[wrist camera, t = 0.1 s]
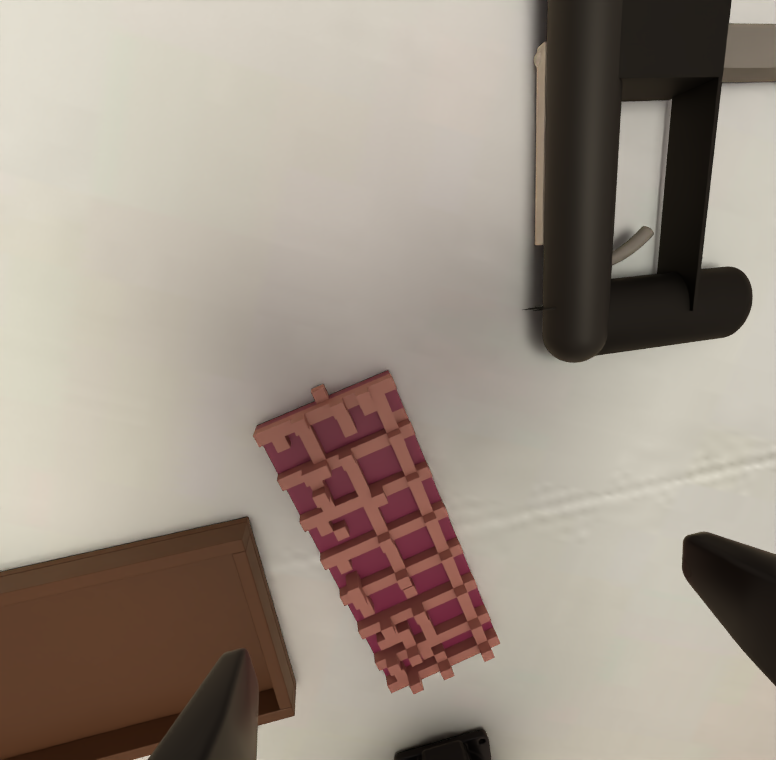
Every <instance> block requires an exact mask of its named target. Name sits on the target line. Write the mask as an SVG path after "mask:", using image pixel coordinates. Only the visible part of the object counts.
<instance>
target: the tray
mask: <svg viewBox="0 0 776 760" xmlns="http://www.w3.org/2000/svg"><path fill="white" fill-rule="evenodd" d="M240 648H245V649H247V651H248V652H249V655H250V658H251V661H252V665H253V668H254V671H255V674H256V677H257V680H258V687H259V704H258V725H262V724H266V723H269V722H273V721H277V720H280V719H284V718H288V717H292V716H294V715H295V697H296V681H295V678H294V674H293V671H292V667H291V664H290V660H289V657H288V654H287V650H286V647H285V643H284V640H283V636H282V633H281V629H280V626H279V622H278V619H277V615H276V612H275V608H274V605H273V602H272V598H271V595H270V591H269V588H268V584H267V581H266V577H265V574H264V570H263V567H262V563H261V560H260V556H259V553H258V550H257V546H256V543H255V539H254V536H253V532H252V529H251V525H250V522H249V518H248V517H245V518H241V519H236V520H232V521H227V522H223V523H218V524H214V525H209V526H205V527H200V528H196V529H191V530H187V531H183V532H178V533H174V534H169V535H165V536H160V537H156V538H151V539H147V540H142V541H138V542H133V543H129V544H124V545H120V546H115V547H111V548H106V549H102V550H97V551H93V552H88V553H84V554H79V555H75V556H70V557H66V558H61V559H57V560H52V561H48V562H43V563H39V564H34V565H30V566H25V567H21V568H16V569H12V570H7V571H3V572H0V760H133V759H137V758H141V757H144V756H148V755H151V754H152V753H153V751H154V750H155V749H156V747H157V746H158V744H159V743H160V742H161V740H162V739H163V737H164V736H165V735H166V733H167V732H168V730H169V729H170V727H171V726H172V725H173V723H174V722H175V720H176V719H177V718H178V716H179V715H180V713H181V712H182V710H183V709H184V708H185V706H186V705H187V703H188V702H189V701H190V699H191V698H192V696H193V695H194V693H195V692H196V691H197V689H198V688H199V686H200V685H201V684H202V682H203V681H204V679H205V678H206V676H207V675H208V674H209V672H210V671H211V669H212V668H213V667H214V665H215V664H216V662H217V661H218V659H219V658H220V657H221V656H222V655H223V654H224V653H225V652H228V651H232V650H236V649H240Z"/></svg>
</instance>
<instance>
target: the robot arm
mask: <svg viewBox="0 0 776 760" xmlns="http://www.w3.org/2000/svg"><path fill="white" fill-rule="evenodd" d="M682 570H683V574H684V576H685V578H686V580H687V581H688V583H689V584H690V585H691V586H692V588H693V589H694V590H695V591H696V593H697V594H698V595H699V596H700V598H701V599H702V600H703V601H704V603H705V604H706V605H707V606H708V608H709V609H710V610H711V611H712V613H713V614H714V615H715V616H716V618H717V619H718V620H719V621H720V623H721V624H722V625H723V626H724V628H725V629H726V630H727V631H728V633H729V634H730V635H731V636H732V638H733V639H734V640H735V641H736V643H737V644H738V645H739V646H740V647H741V649H742V650H743V651H744V652H745V653H746V654H747V656H748V657H749V658H750V659H751V660H752V661H753V662H754V663H755V664H756V666H757V667H758V668H759V669H760V670H761V671H762V672H763V673H764V674H765V675H766V676H767V677H768V678H769V679H770V681H771V682H772V683H773V684H774V685H775V686H776V554H773V553H770V552H767V551H764V550H761V549H758V548H755V547H752V546H749V545H746V544H742V543H739V542H736V541H733V540H730V539H727V538H724V537H721V536H718V535H715V534H712V533H709V532H699V533H695V534H691V535H687V536H686V537H685V538H684V540H683V554H682ZM258 704H259V687H258V680H257V677H256V674H255V671H254V668H253V665H252V661H251V658H250V655H249V652H248V651H247V649H245V648H240V649H236V650H232V651H228V652H225V653H224V654H223V655H222V656H221V657H220V658H219V659H218V661H217V662H216V664H215V665H214V667H213V668H212V669H211V671H210V672H209V674H208V675H207V676H206V678H205V679H204V681H203V682H202V684H201V685H200V686H199V688H198V689H197V691H196V692H195V693H194V695H193V696H192V698H191V699H190V701H189V702H188V703H187V705H186V706H185V708H184V709H183V710H182V712H181V713H180V715H179V716H178V718H177V719H176V720H175V722H174V723H173V725H172V726H171V727H170V729H169V730H168V732H167V733H166V735H165V736H164V737H163V739H162V740H161V742H160V743H159V744H158V746H157V747H156V749H155V750H154V751H153V753H152V754H151V756H150V757H149V759H148V760H256V757H257V730H258ZM394 760H491V753H490V745H489V739H488V736H487V733H486V731H484V730H478V731H474V732H471V733H467V734H464V735H460V736H457V737H453V738H450V739H446V740H443V741H439V742H436V743H433V744H429V745H426V746H422V747H419V748H415V749H412V750H408V751H405V752H401V753H399V754H397V755H396V756H395V758H394Z"/></svg>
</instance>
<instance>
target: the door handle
mask: <svg viewBox="0 0 776 760" xmlns="http://www.w3.org/2000/svg"><path fill="white" fill-rule="evenodd" d="M730 9H731V0H548V11H547V41H545V42H544V43H543V44H541V45H540V46H539V47H538V48H537V54H536V55H535V57H534V64H535V66H536V67H537V103H536V197H535V245H544V261H543V306H541V307H535V308H529V309H539V310H543V324H542V336H543V341H544V344H545V346H546V348H547V350H548V351H549V352H550V353H551V354H552V355H553V356H554V357H556V358H558V359H560V360H562V361H565V362H573V363H575V362H582V361H586V360H588V359H590V358H592V357H594V356H596V355H603V354H610V353H617V352H624V351H632V350H639V349H646V348H653V347H660V346H667V345H674V344H681V343H688V342H695V341H702V340H709V339H716V338H723V337H727V336H730V335H732V334H733V333H735V332H736V331H737V330H738V329H739V328H740V327H741V326H742V325H743V324H744V322H745V321H746V319H747V317H748V315H749V313H750V310H751V306H752V288H751V284H750V281H749V279H748V278H747V276H746V275H745V274H744V273H743V272H742V271H741V270H739V269H737V268H735V267H718V268H709V269H701V263H702V254H703V245H704V236H705V227H706V218H707V210H708V201H709V192H710V183H711V174H712V165H713V156H714V148H715V139H716V130H717V121H718V112H719V103H720V95H721V86H722V82H768V81H776V24H733V23H729V18H730ZM670 99H672V107H671V118H670V130H669V141H668V153H667V165H666V176H665V188H664V199H663V211H662V222H661V234H660V246H659V257H658V269H657V274H652V275H643V276H634V277H624V278H615V279H611V271H612V265H614V264H616V263H618V262H620V261H622V260H624V259H625V258H627V257H629V256H630V255H631V254H633V253H634V252H635V251H637V250H638V249H639V248H640V247H641V246H643V245H644V244H645V243H646V242H647V241H648V240H649V239H650V238H651V237H652V236H653V235H654V232H653V231H652V229H650V228H649V227H646V226H643V227H642V228H641V229H640V230H639V231H638V232H637V233H636V234H635V235H634V236H632V237H631V238H630V239H629V240H628V241H627V242H626V243H624V244H623V245H622V246H620V247H619V248H618V249H616V250H615V251H613V236H614V219H615V202H616V185H617V168H618V150H619V133H620V116H621V101H652V100H670ZM529 309H524V310H529ZM533 311H538V310H533Z"/></svg>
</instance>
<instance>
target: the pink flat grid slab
mask: <svg viewBox="0 0 776 760" xmlns="http://www.w3.org/2000/svg"><path fill="white" fill-rule="evenodd" d="M311 393H312V395H313V398H314V400H315V401H314V402H312V403H309V404H307V405H305V406H302V407H300V408H297V409H295V410H293V411H290V412H288V413H286V414H283V415H281V416H279V417H276V418H274V419H272V420H269V421H267V422H264V423H262V424H260V425H257V426H256V429H255V432H254V434H253V437H254V438H255V440H256V442H257V444H258V446H259V447H261V446H263V447H264V448H265V450H266V452H267V454H268V456H269V458H270V460H271V462H272V463H273V465H274V467H275V469H276V471H277V473H278V478H277V481H278V483H279V485H280V487H281V489H282V491H284V490H287V492H288V493H289V495H290V497H291V499H292V501H293V503H294V505H295V507H296V508H297V510H298V512H299V514H300V524H301V526H302V528H303V530H304V531H305V532H306V531H309V533H310V535H311V537H312V538H313V540H314V542H315V544H316V546H317V548H318V550H319V552H320V561H321V563H322V565H323V567H324V569H325V570H327V569H329V570H330V572H331V574H332V576H333V578H334V580H335V581H336V583H337V585H338V587H339V591H340V598H341V600H342V602H343V604H344V606H346V605H348V606H349V608H350V610H351V611H352V613H353V615H354V617H355V619H356V621H357V625H358V632H359V634H360V636H361V637H362V639H365V638H366V640H367V641H368V643H369V645H370V647H371V649H372V651H373V653H374V657H375V663H376V665H377V667H378V669H379V671H380V670H383V671H384V673H385V675H386V680H387V686H388V688H389V690H390V691H391V693H393V692H395V691H397V690H399V689H402V688H404V687H406V686H408V685H410V688H411V690H412V692H413V694H416V693H418V692H420V691H422V690H424V688H423V684H422V680H421V679H424V678H426V677H428V676H430V675H432V674H435V673H437V672H439V671H440V673H441V675H442V677H443V679H444V680H446V679H448V678H451V677H453V676H454V673H453V670H452V667H451V666H452V665H454V664H457V663H459V662H461V661H463V660H465V659H468V658H470V657H472V656H474V655H476V654H479V653H481V655H482V657H483V659H484V662H486V661H488V660H490V659H492V658H494V655H493V652H492V650H491V648H492V647H494V646H496V645H498V644H500V642H499V639H498V637H497V634H496V632H495V630H494V628H493V626H492V623H491V619H490V617H489V614H488V612H487V610H486V608H485V606H484V604H483V601H482V599H481V596H480V594H479V591H478V589H477V588H478V587H477V585H476V582H475V580H474V578H473V576H472V574H471V572H470V569H469V567H468V564H467V562H466V559H465V557H464V554H463V550H462V548H461V545H460V543H459V541H458V539H457V537H456V535H455V532H454V530H453V527H452V525H451V522H450V520H449V517H448V513H447V511H446V508H445V506H444V504H443V502H442V500H441V498H440V495H439V493H438V490H437V488H436V485H435V483H434V481H433V478H432V474H431V471H430V469H429V466H428V465H427V463H426V461H425V458H424V456H423V453H422V451H421V449H420V446H419V444H418V441H417V439H416V436H415V432H414V430H413V427H412V425H411V422H410V421H409V419H408V417H407V414H406V412H405V409H404V407H403V404H402V402H401V399H400V397H399V394H398V392H397V388H396V385H395V383H394V380H393V378H392V376H391V374H390V373H389V371H388V370H387V371H385V372H383V373H380V374H378V375H375V376H373V377H371V378H368V379H366V380H364V381H361V382H359V383H357V384H354V385H352V386H349V387H347V388H345V389H342V390H340V391H338V392H335V393H333V394H331V395H328V393H327V390H326V388H325V386H324V384H322V385H320V386H317V387H315V388H313V389H311Z"/></svg>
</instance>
